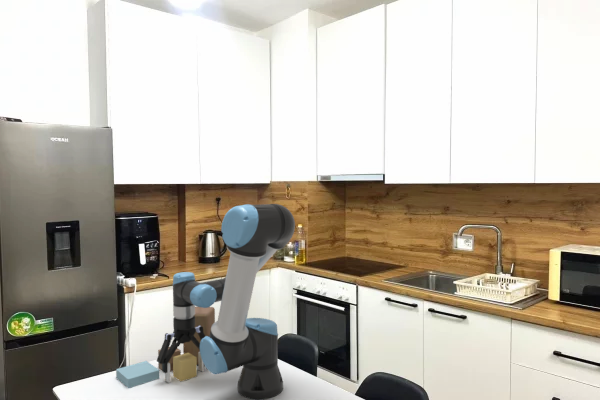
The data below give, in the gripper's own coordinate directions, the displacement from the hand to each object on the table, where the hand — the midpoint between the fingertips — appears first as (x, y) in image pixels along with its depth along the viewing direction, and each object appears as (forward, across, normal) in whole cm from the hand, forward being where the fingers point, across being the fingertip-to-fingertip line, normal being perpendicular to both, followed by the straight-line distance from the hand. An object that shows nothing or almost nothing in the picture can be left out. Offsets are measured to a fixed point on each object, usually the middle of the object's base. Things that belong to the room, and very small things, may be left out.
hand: (184, 375), depth 156 cm
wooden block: (0, -11, -9) cm, 14 cm away
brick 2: (0, 0, 0) cm, 0 cm away
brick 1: (0, +1, -10) cm, 10 cm away
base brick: (0, +13, -10) cm, 16 cm away
